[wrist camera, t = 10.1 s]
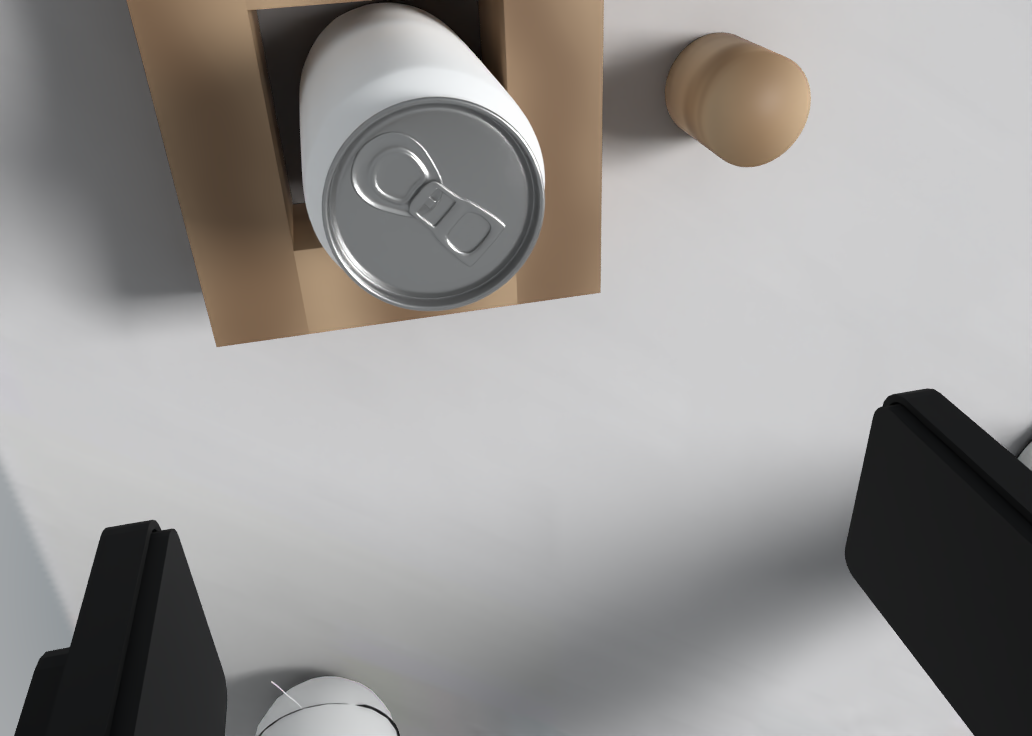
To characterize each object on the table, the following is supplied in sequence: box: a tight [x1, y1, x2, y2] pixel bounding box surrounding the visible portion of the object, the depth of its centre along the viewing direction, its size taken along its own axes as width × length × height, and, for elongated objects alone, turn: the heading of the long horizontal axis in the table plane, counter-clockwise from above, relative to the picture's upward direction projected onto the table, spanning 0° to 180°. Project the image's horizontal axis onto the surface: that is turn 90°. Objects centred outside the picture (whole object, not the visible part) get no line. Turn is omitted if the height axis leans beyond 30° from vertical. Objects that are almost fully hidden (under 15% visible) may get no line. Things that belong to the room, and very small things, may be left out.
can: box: [299, 3, 545, 311], centre depth 27 cm, size 6×6×12 cm
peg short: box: [665, 33, 811, 167], centre depth 33 cm, size 4×4×4 cm
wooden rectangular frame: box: [127, 0, 604, 347], centre depth 30 cm, size 14×14×4 cm
